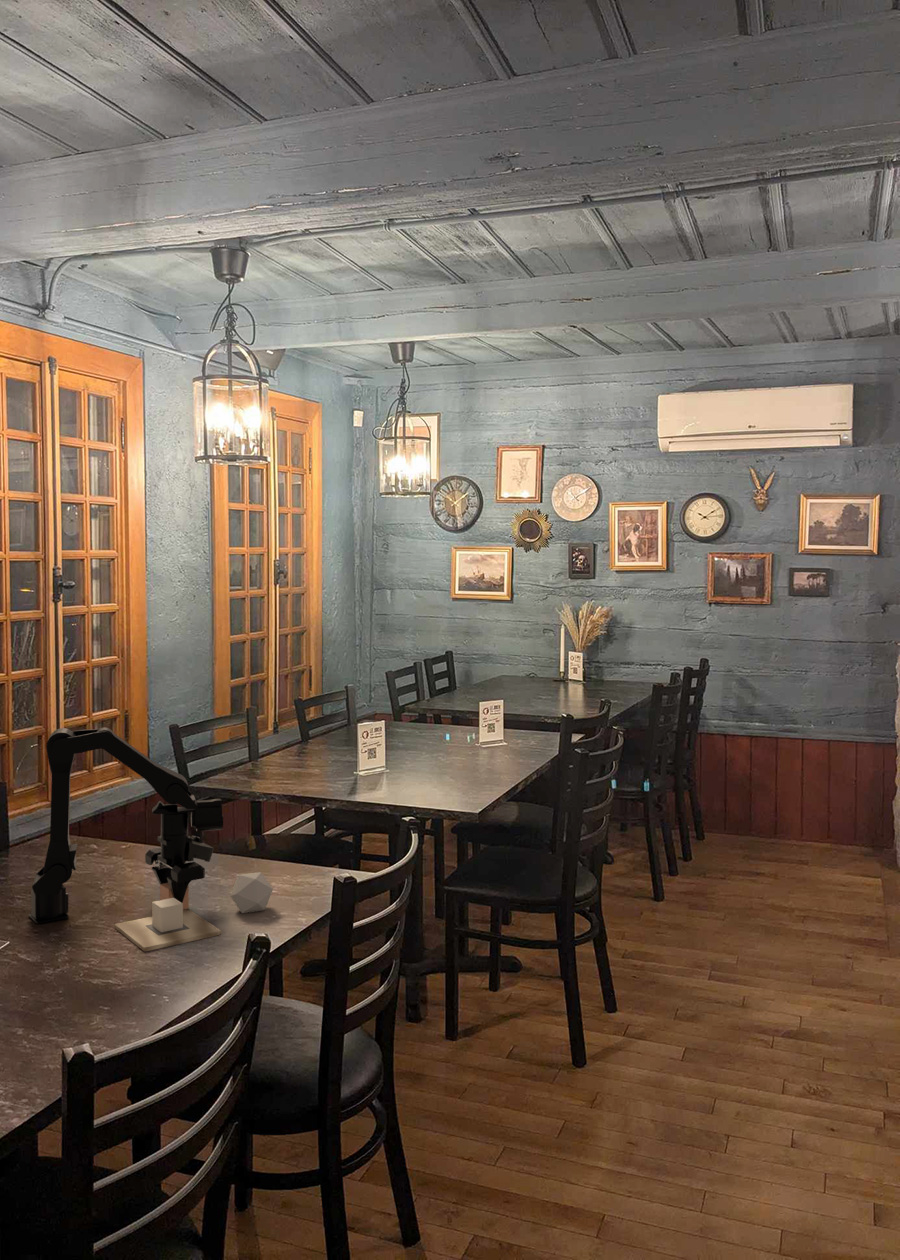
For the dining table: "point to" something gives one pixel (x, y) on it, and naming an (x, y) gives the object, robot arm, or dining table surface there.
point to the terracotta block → (166, 894)
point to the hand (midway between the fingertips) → (174, 902)
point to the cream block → (167, 914)
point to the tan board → (166, 932)
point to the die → (251, 892)
